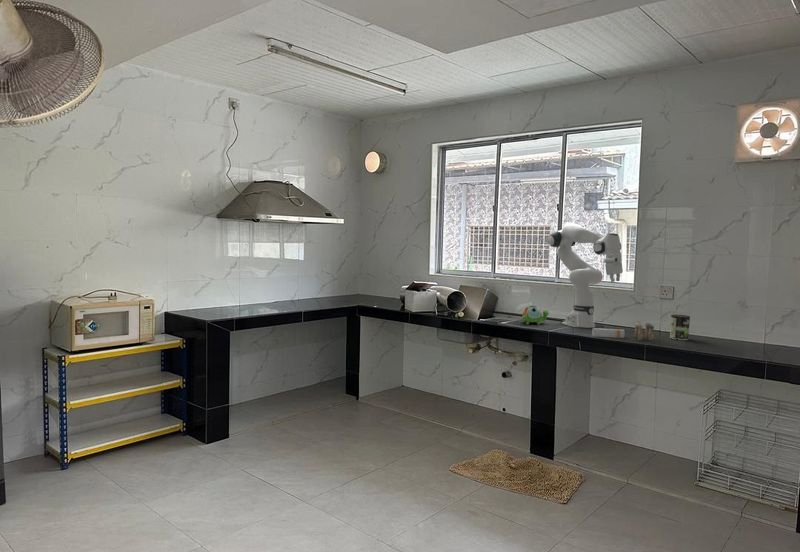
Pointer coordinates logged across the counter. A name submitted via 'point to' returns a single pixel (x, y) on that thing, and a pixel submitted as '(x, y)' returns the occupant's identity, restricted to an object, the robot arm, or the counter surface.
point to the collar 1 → (639, 331)
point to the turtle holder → (534, 315)
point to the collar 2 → (649, 331)
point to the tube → (608, 332)
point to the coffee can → (679, 327)
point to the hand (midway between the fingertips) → (615, 281)
